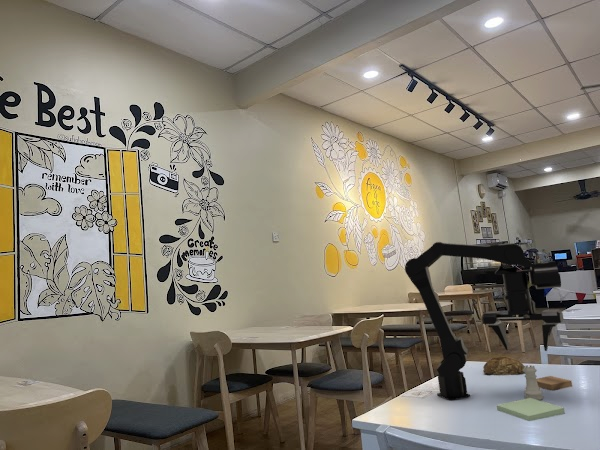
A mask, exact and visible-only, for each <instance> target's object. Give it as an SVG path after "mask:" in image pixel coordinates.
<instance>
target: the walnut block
mask: <svg viewBox="0 0 600 450" xmlns="http://www.w3.org/2000/svg"><path fill="white" fill-rule="evenodd" d="M536 380H537V384H538V386H539V388H540V389H544V390H548V391H556V390H557V391H558V390H562V389H566V388H570V387H571V388H572V387H573V382H572V380H571V379H567V378H563V377H556V376H553V375H548V376H543V377H539V378H536Z"/></svg>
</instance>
